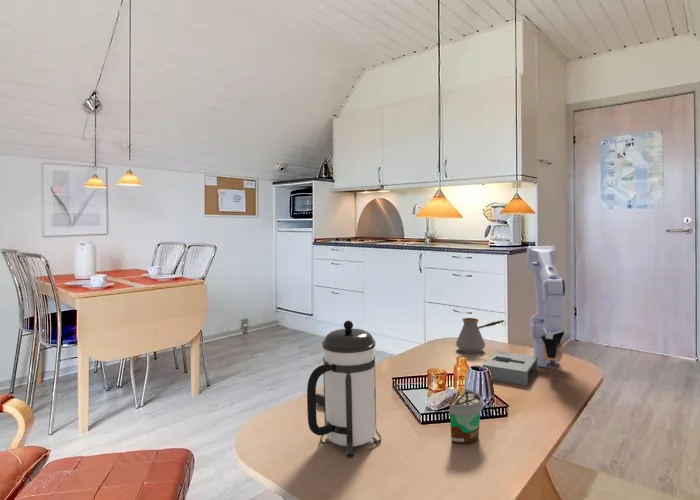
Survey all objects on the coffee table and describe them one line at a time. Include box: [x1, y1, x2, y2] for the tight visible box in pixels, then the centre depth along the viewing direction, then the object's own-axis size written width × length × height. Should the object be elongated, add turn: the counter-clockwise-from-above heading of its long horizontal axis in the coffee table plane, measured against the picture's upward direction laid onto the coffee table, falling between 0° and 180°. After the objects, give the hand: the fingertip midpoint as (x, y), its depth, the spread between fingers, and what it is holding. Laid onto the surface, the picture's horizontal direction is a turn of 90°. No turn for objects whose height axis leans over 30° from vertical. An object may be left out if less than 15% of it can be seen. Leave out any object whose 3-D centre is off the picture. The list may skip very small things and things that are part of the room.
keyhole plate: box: [482, 350, 539, 386], centre depth 155 cm, size 18×14×4 cm
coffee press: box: [306, 320, 382, 458], centre depth 108 cm, size 17×16×30 cm
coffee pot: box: [455, 317, 507, 354], centre depth 179 cm, size 21×12×15 cm, turn 39°
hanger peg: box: [543, 343, 563, 370], centre depth 149 cm, size 5×5×8 cm
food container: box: [448, 388, 484, 446], centre depth 110 cm, size 12×6×10 cm, turn 148°
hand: (552, 355), depth 149 cm, fingers closed on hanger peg, 5 cm apart
